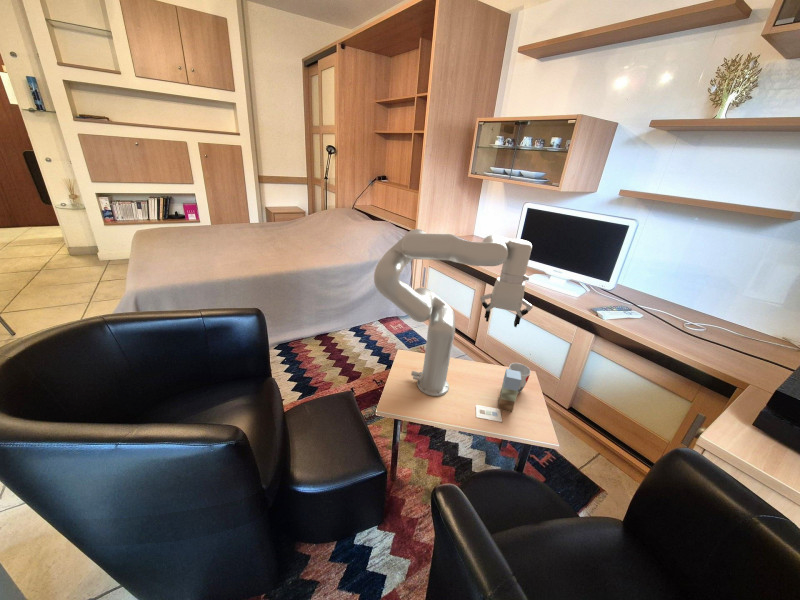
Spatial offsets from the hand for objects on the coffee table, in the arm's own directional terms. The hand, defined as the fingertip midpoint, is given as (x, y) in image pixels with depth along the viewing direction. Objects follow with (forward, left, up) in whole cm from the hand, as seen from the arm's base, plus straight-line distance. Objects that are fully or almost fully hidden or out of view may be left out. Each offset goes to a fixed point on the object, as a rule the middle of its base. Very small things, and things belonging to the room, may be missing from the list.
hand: (500, 322), depth 116 cm
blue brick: (+8, -4, -22) cm, 24 cm away
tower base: (+8, -4, -32) cm, 34 cm away
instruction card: (+2, -10, -32) cm, 34 cm away
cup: (+12, +8, -32) cm, 35 cm away
